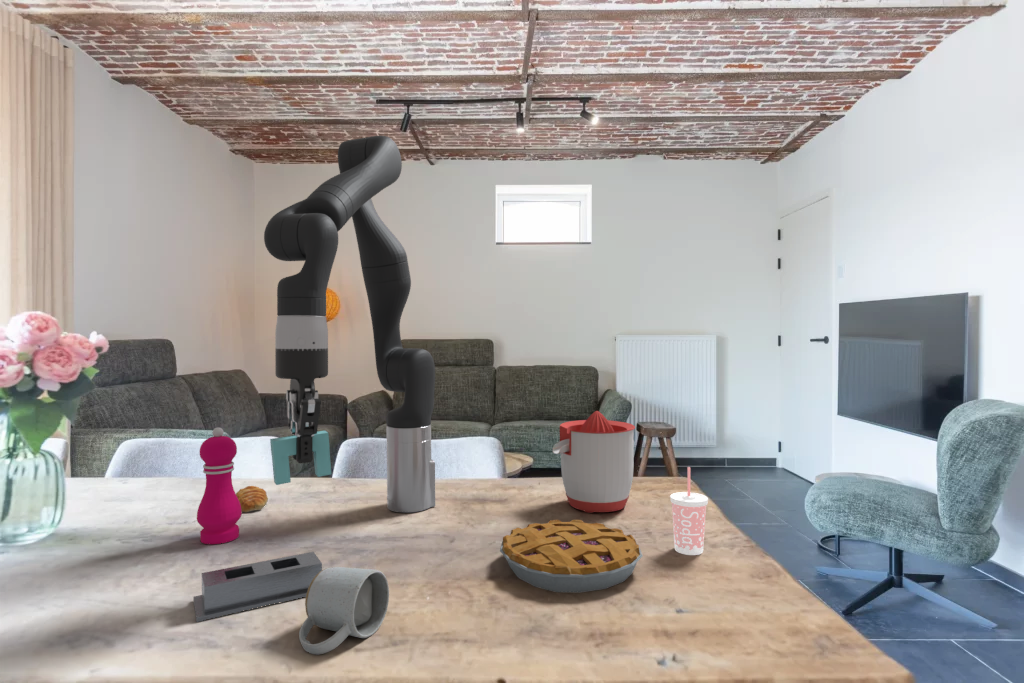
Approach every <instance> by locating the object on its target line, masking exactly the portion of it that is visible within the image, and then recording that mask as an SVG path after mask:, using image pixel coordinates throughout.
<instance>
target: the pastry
mask: <svg viewBox="0 0 1024 683" xmlns="http://www.w3.org/2000/svg"><path fill="white" fill-rule="evenodd" d="M235 494H236V496H237V498H238V500H239V502H240V505H241V511H242V513H249V512H251V511H252V512H253V511H262V510H263V509H264V506H265V505H266V506H267V502H268V501H269V500H268V499H269V497H268V496H267V491H266V490H265V489H264V488H261V487H258V486H256V485H248V486H245V487H244V488H240V489H239V490H238V491H237V492H235ZM266 506H265V507H266ZM261 509H262V510H261Z"/></svg>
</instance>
